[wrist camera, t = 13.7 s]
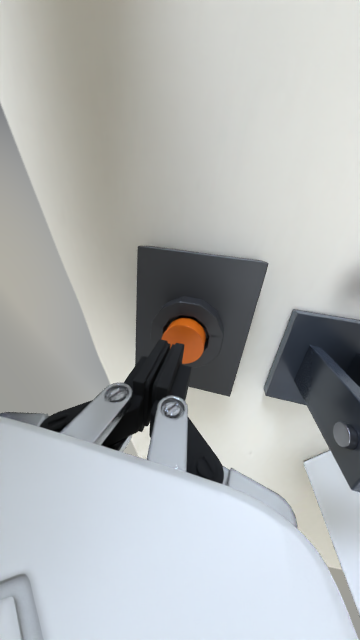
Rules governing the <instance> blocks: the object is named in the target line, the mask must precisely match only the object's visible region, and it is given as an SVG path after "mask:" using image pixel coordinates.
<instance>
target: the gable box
mask: <svg viewBox="0 0 360 640" xmlns="http://www.w3.org/2000/svg"><path fill="white" fill-rule="evenodd" d="M304 467H305V469H306V472H307V475H308V478H309V480H310V483H311V486H312V488H313V491H314V494H315V497H316V499H317V502H318V505H319V508H320V510H321V513H322V516H323V518H324V521H325V524H326V527H327V529H328V532H329V535H330V538H331V540H332V543H333V546H334V548H335V551H336V554H337V557H338V559H339V562H340V565H341V568H342V570H343V573H344V576H345V578H346V581H347V584H348V586H349V589H350V592H351V595H352V597H353V600H354V603H355V606H356V608H357V611H358V614H359V617H360V493H359V492H356V491H352V490H351V489H350V487H349V485H348V483H347V481H346V479H345V477H344V475H343V474H342V472H341V470H340V468H339V466H338V464H337V462H336V460H335V458H334V456H333V454H332V453H331V451H328V452H325V453H323V454H321V455H319V456H316V457H314V458H312V459H309V460H307V461H305V462H304Z"/></svg>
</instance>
